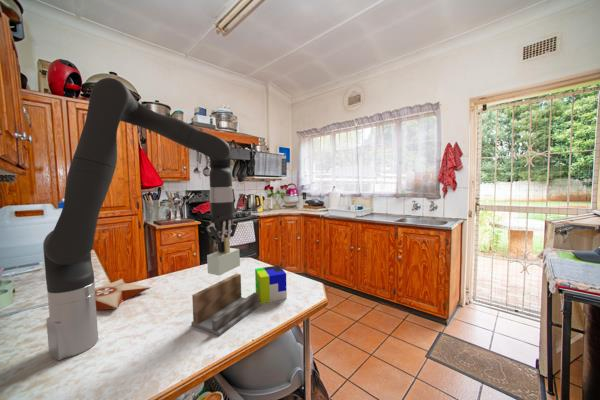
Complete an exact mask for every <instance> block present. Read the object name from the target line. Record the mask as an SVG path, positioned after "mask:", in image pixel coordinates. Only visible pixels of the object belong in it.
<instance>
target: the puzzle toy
mask: <svg viewBox="0 0 600 400" xmlns="http://www.w3.org/2000/svg"><path fill="white" fill-rule="evenodd" d="M254 272H255V275H254V276H255V277H254V278H255V293H257V294H258V301H259V302H261V304H266V303H271V302H277V301H283V300H286V299H287V291H288V290H287V273H286V272H285V271H284V269H283V268H282V267H281V265H279V264H278V265H271V266H266V267H258V268H255V269H254Z"/></svg>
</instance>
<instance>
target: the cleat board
mask: <svg viewBox="0 0 600 400" xmlns="http://www.w3.org/2000/svg"><path fill="white" fill-rule="evenodd" d="M191 296H192V297H191V298H192V319H193V321H191V326H193V327H195V328H197V329H201V330H202V331H203V330H204V331H207V332H209V333H211V334H214V335H216V336H220V337H221V335H224V333H225V332H227V331H228V330H230V329H231V328H232V327H233V326H235V325H236V324H237V323H239V322H240V321H242V319H244V318H245V317H247V316H248V315H250V314H251V313H252V312H253V311H254V310H256V309H257V308H259V307H260V306H261V304H262V303H261V302H260V301H259V298H258V294H257V293H256V292H253V293H251V294H250V295H249V296H247V297H242V273H234V274H233V275H231V276H229V277H227V278H225V279H222V280H221V281H218V282H216V283H214V284H212V285H210V286H208V287H205V288H204V289H202V290H200V291H198V292H196V293H194V294H191Z"/></svg>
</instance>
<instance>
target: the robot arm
mask: <svg viewBox="0 0 600 400" xmlns="http://www.w3.org/2000/svg"><path fill="white" fill-rule="evenodd" d="M85 116H86V117H85V122H84V124H83V127H82V130H81V133H80V136H79V138H78V139H79V140H78V143H77V145H76V149H75V152H74V154H73V156H72V160H71V163H70V165H69V168H68V172H67V175H66V181H65V188H64V198H63V204H62V205H63V206H62V209H61V211H60V215H59V217H58V220H57V222H56V224H55V226H54V228H53V230H51V231H50V232H49V233H47V235H45V238H44V240H43V246H42V247H43V248H42V249H43V260H44V271H45V273H44V274H45V281H46V291H47V293H46V294H47V302H48V303H47V304H48V315H49V317H48V318H46V331H47V333H46V334H47V345H48V347H47V348H48V354H49V355H50V356H52V357H53V358H55V359H56V360H57V361H61V360H64V359H65V358H69V357H73V356H77V355H79V354H81V353H83V352H86V351H88V350H89V349H91V348H92V347H93V346H95V345H96V344H97V342H98V341H99V330H98V329H99V327H98V319H97V318H98V317H97V315H98V314H97V312H98V311H97V310H96V298H95V288H96V286H95V284H96V283H95V273H94V269H93V263H92V253H91V252H92V250H93V248H94V245H95V244H94V243H95V236H96V230H97V225H98V219H99V215H100V211H101V209H102V207H103V204H104V202H105V200H106V198H107V195H108V192H109V189H110V186H111V183H112V181H113V177H114V174H115V171H116V167H117V164H118V163H117V162H118V143H117V141H118V139H117V138H118V129H119V125H120V122H123V123H127V124H129V125H132V126H136V127H140V128H142V129H145V130H147V131H150V132H153V133H156V134H157V135H160V136H162V137H164V138H166V139H168V140H170V141H172V142H174V143H175V144H176V143H177V144H178V145H181V146H183V147H185V148H188V150H192V151H196V152H198V153H201V154H203V156H206V157H208V158H209V164H210V165H209V167H210V171H209V210H210V211H209V214H210V215H211V223H210V224H209V225H206V226H205V228H204V229H205V230H206V232H207V234H208V235H209V237H210V239H211V240H212V241H214V242H216V244H217V243H218V245H217V252H218V251H219V252H221V253H223V252H225V244H224V237H227V238H229V241H230V240H231V238H234V236H235V232H236V230H237V227H238V225H239V221H238V220H234V217H233V215H234V214H235V210H234V191H233V182H232V181H233V180H232V178H233V177H232V172H231V164H232V163H231V162H232V161H231V157H232V154H231V153H232V152H231V147H230V145H229V143H228V142H227V141H226V140H224V139H223V138H220V137H218V136H216V135H213V134H212V133H208V132H205V131H203V130H201V129H199V128H198V127H196V126H194V125H192V124H189V123H187V122H186V121H183V120H181V119H178V118H175V117H172V116H168V115H164V114H161V113H159V112H157V111H153V110H151V109H150V108H148V107H146V106H145V105H143V104H142V103H140V102H139V101H137V100H136V98H135V97H134V96H133V94H132V93H131V91H130V89H129V88H128V87H127V86H126V85H125V84H124V83H123V82H122V81H121V80H119V79H116V78H113V77H105V78H102V79H99V80H98V81H96V83H95V84H94V85H93V86H92V89H91V91H90V95H89V100H88V107H87V112H86V115H85ZM220 237H221V238H220Z"/></svg>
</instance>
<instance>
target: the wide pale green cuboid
mask: <svg viewBox="0 0 600 400" xmlns="http://www.w3.org/2000/svg"><path fill="white" fill-rule="evenodd" d="M220 238H221V236H220ZM216 244H217V246H218V243H217V242H216ZM224 244H225V252H223V253H221V252H219V251H218V250H217V251H215V252H213V253H209V254H207V255H206V260H207V262H206V264H207V274H209V275H214V276H218V277H219V276H222V275H224V274H225V273H228V272H230V271H232V270H234V269H236V268H238V267H240V266H241V261H240V260H241V259H240V257H241V255H240V249H239V248H235V247H234V248H233V247H230V244H231V243H230V240H229V238H227V237H224Z"/></svg>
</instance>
